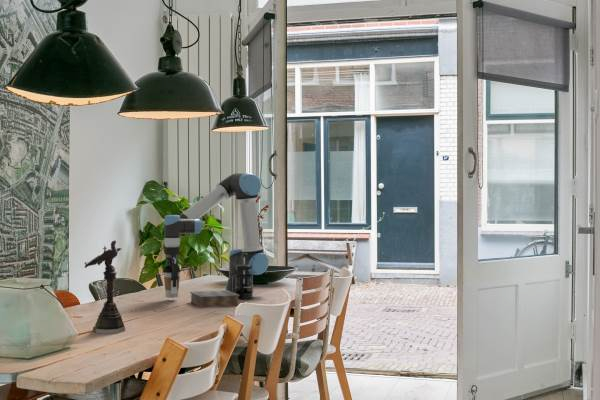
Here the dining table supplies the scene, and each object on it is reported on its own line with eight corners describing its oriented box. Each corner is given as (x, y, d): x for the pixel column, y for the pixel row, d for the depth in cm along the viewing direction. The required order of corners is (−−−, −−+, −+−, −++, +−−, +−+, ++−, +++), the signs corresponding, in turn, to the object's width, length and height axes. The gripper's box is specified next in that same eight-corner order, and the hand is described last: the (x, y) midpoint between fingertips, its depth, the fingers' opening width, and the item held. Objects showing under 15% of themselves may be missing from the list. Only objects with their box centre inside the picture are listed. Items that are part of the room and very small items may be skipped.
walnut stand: (227, 300, 361) (227, 290, 361) (239, 305, 344) (239, 295, 344) (189, 301, 354) (190, 291, 354) (200, 307, 336) (201, 296, 336)
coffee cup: (182, 295, 361) (182, 265, 361) (177, 298, 353) (177, 267, 353) (165, 295, 362) (166, 265, 362) (161, 297, 354) (161, 267, 354)
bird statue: (73, 332, 270) (74, 239, 270) (90, 326, 283) (92, 237, 283) (114, 335, 267) (115, 240, 266) (130, 329, 279) (131, 238, 279)
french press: (255, 297, 372) (256, 253, 372) (252, 300, 363) (252, 254, 363) (233, 296, 374) (234, 252, 374) (229, 299, 365) (229, 253, 365)
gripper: (159, 245, 365) (159, 290, 366) (169, 248, 347) (169, 295, 347) (174, 244, 368) (174, 289, 369) (184, 247, 350) (184, 294, 350)
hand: (171, 292), depth 358 cm, fingers closed on coffee cup, 8 cm apart
